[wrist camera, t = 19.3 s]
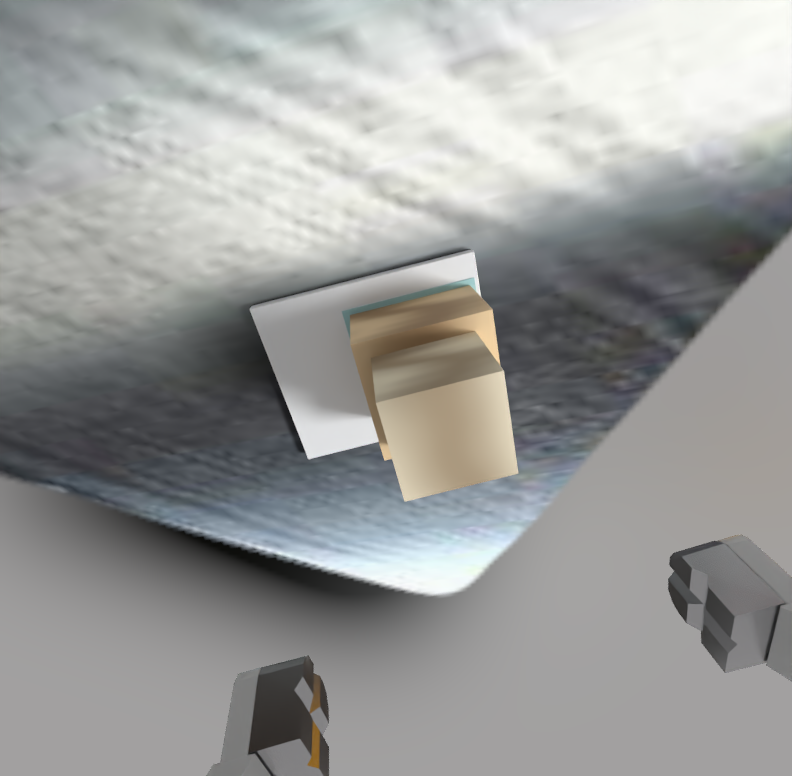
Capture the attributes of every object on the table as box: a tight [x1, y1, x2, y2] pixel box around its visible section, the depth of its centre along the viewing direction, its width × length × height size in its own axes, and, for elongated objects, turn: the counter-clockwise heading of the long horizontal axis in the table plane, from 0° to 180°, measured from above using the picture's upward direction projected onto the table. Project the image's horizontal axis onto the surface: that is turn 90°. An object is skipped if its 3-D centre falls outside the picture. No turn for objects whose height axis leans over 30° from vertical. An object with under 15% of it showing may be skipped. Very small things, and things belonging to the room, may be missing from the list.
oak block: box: [350, 285, 500, 460], centre depth 22 cm, size 6×6×4 cm
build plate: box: [249, 249, 481, 459], centre depth 25 cm, size 11×9×1 cm
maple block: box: [371, 331, 518, 501], centre depth 19 cm, size 4×4×4 cm
